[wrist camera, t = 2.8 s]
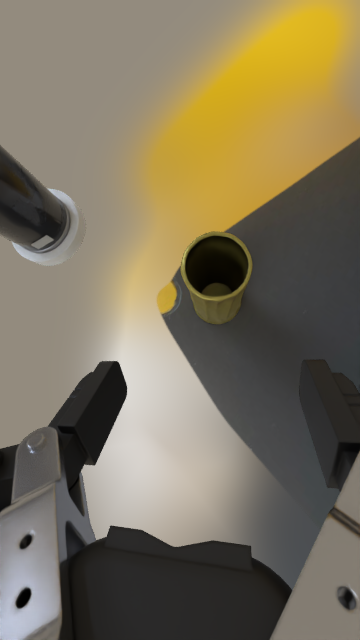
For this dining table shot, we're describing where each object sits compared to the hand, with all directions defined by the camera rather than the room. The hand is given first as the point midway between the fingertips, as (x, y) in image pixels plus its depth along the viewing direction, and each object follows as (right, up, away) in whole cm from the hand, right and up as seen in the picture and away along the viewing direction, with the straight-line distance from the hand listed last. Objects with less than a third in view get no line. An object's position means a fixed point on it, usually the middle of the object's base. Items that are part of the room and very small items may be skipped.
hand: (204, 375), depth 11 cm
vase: (+4, +5, +21) cm, 22 cm away
